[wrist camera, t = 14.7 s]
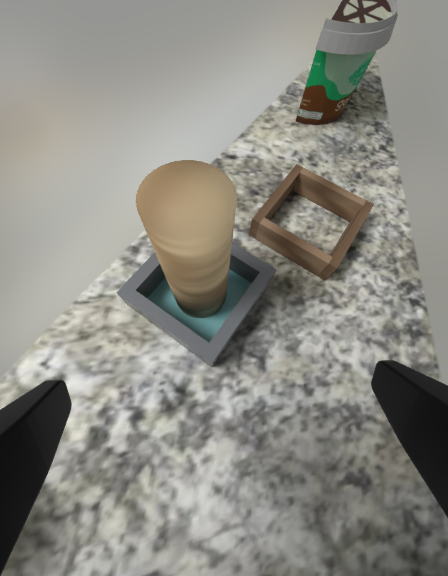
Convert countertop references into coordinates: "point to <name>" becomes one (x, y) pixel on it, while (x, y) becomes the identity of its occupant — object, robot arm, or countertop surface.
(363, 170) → the countertop surface
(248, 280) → the grey square tray
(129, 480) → the countertop surface
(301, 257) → the wooden square frame
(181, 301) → the wood plug
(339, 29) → the food container
